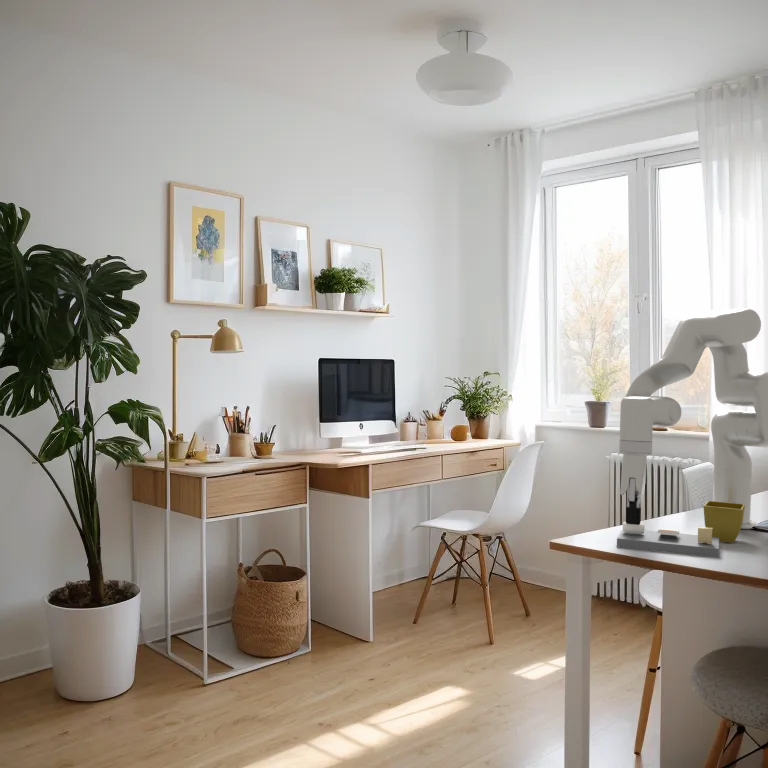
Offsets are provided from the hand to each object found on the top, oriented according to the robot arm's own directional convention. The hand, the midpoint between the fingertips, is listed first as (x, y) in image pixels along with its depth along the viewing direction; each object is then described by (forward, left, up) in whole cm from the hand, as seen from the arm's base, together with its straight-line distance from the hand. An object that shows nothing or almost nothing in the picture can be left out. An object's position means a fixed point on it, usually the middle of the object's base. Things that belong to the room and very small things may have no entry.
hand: (633, 523), depth 186 cm
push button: (0, 0, -2) cm, 2 cm away
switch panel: (0, +8, -5) cm, 9 cm away
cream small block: (+2, +16, -2) cm, 16 cm away
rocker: (0, +8, -2) cm, 8 cm away
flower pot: (-14, +20, -5) cm, 25 cm away
